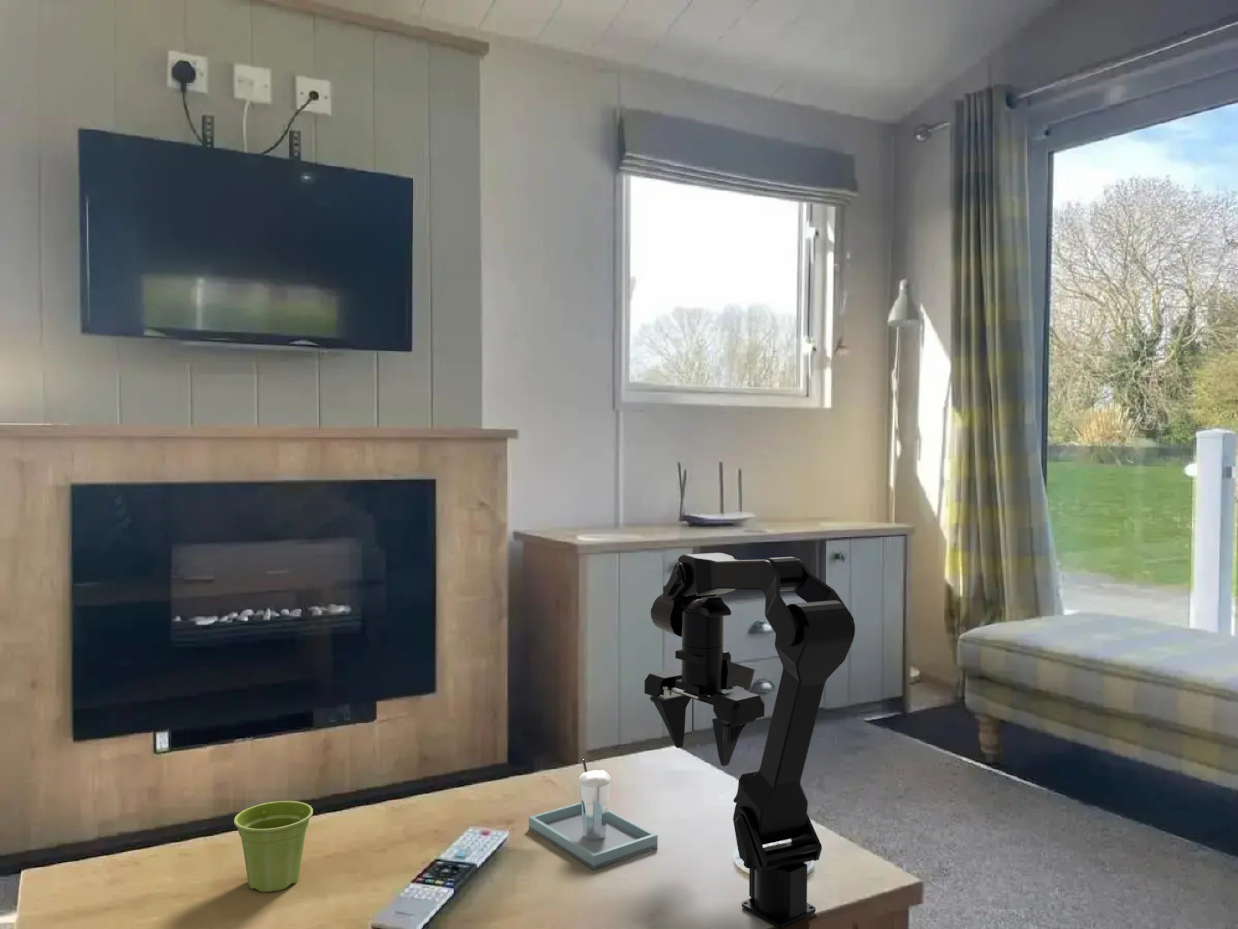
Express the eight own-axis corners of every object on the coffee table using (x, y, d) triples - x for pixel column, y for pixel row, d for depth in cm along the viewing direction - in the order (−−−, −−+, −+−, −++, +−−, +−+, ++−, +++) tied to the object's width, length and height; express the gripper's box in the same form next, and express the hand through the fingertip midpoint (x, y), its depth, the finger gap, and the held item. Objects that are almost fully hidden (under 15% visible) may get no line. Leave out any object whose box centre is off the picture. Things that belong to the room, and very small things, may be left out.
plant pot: (235, 871, 120) (235, 805, 120) (311, 860, 123) (311, 796, 123) (232, 905, 111) (232, 834, 111) (314, 892, 115) (314, 823, 114)
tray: (657, 847, 128) (657, 835, 128) (593, 869, 121) (593, 856, 121) (589, 811, 140) (589, 799, 140) (528, 829, 134) (528, 817, 134)
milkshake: (596, 824, 134) (596, 756, 134) (616, 837, 130) (617, 767, 130) (569, 831, 132) (570, 762, 132) (589, 845, 127) (589, 773, 127)
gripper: (793, 648, 124) (792, 763, 125) (699, 626, 139) (698, 729, 139) (734, 660, 118) (733, 781, 118) (642, 635, 132) (641, 743, 133)
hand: (701, 756), depth 127 cm, fingers open, 9 cm apart
